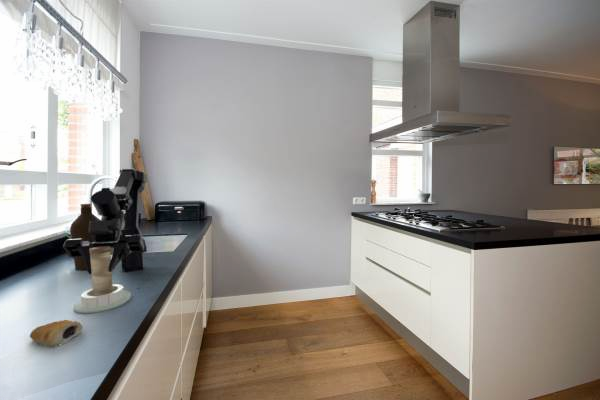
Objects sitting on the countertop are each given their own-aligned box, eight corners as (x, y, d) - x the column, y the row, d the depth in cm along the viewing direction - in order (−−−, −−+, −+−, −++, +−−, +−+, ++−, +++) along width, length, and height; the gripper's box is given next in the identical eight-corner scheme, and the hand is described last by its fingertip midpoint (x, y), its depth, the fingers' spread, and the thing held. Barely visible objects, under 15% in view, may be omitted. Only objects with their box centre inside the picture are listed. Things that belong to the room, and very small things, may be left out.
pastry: (19, 345, 58) (17, 328, 57) (53, 328, 64) (52, 312, 64) (56, 350, 56) (55, 331, 56) (87, 332, 63) (86, 315, 62)
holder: (129, 289, 86) (128, 278, 86) (132, 304, 76) (131, 292, 75) (76, 300, 79) (75, 288, 79) (71, 318, 68) (70, 305, 68)
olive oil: (112, 262, 116) (108, 202, 114) (95, 270, 106) (90, 204, 104) (85, 262, 116) (81, 203, 114) (66, 271, 105) (60, 205, 103)
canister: (107, 289, 80) (104, 245, 79) (116, 292, 78) (113, 246, 77) (89, 295, 76) (85, 249, 75) (98, 298, 74) (94, 250, 73)
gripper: (63, 210, 76) (43, 261, 67) (139, 207, 82) (131, 253, 72) (78, 233, 85) (63, 281, 75) (147, 229, 90) (140, 273, 80)
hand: (99, 272), depth 75 cm, fingers closed on canister, 4 cm apart
